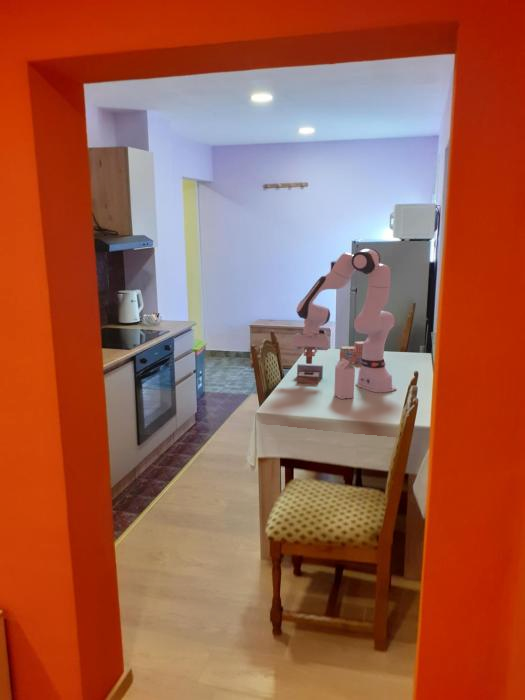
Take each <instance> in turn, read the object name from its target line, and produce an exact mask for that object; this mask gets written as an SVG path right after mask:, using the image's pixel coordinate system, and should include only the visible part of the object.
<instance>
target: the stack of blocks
mask: <svg viewBox="0 0 525 700" xmlns="http://www.w3.org/2000/svg"><path fill="white" fill-rule="evenodd" d="M363 343H364V341H354V344H353V346H340V347H339V350H340V351H339V362H340V361H341V360H342V358H343V359H345V360H347V361H349V364H353V363H352V362H361V358H362V351H363Z"/></svg>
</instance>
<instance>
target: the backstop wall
mask: <svg viewBox="0 0 525 700" xmlns="http://www.w3.org/2000/svg"><path fill="white" fill-rule="evenodd" d="M323 365H324V364H297V368H296V369H297V370H296V372H297V373H296V377H297V378H298V374H299V371H319V372H320V377H319V379H323V374H324V372H323V371H324V369H323V368H324V366H323Z"/></svg>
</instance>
